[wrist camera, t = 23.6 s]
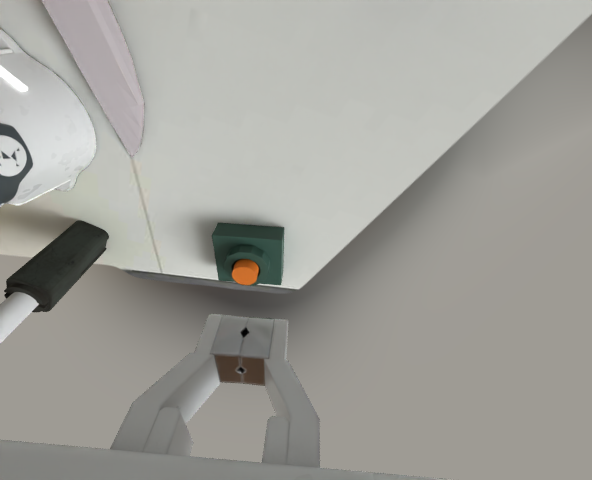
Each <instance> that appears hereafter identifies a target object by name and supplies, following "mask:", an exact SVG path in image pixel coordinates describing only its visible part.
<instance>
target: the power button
mask: <svg viewBox="0 0 592 480" xmlns="http://www.w3.org/2000/svg"><path fill="white" fill-rule="evenodd" d="M258 272H259V267H258V265H257V264H256V263H255V262H254V261H252V260H249V259H240V260H238V261H237V262H236V263H235V265H234V268H233V271H232V278H233V279H234V280H235V281H236V282H237V283H239V284H242V285H251V284H253V283H254V282H255V281H256V280H257V276H258Z"/></svg>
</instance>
